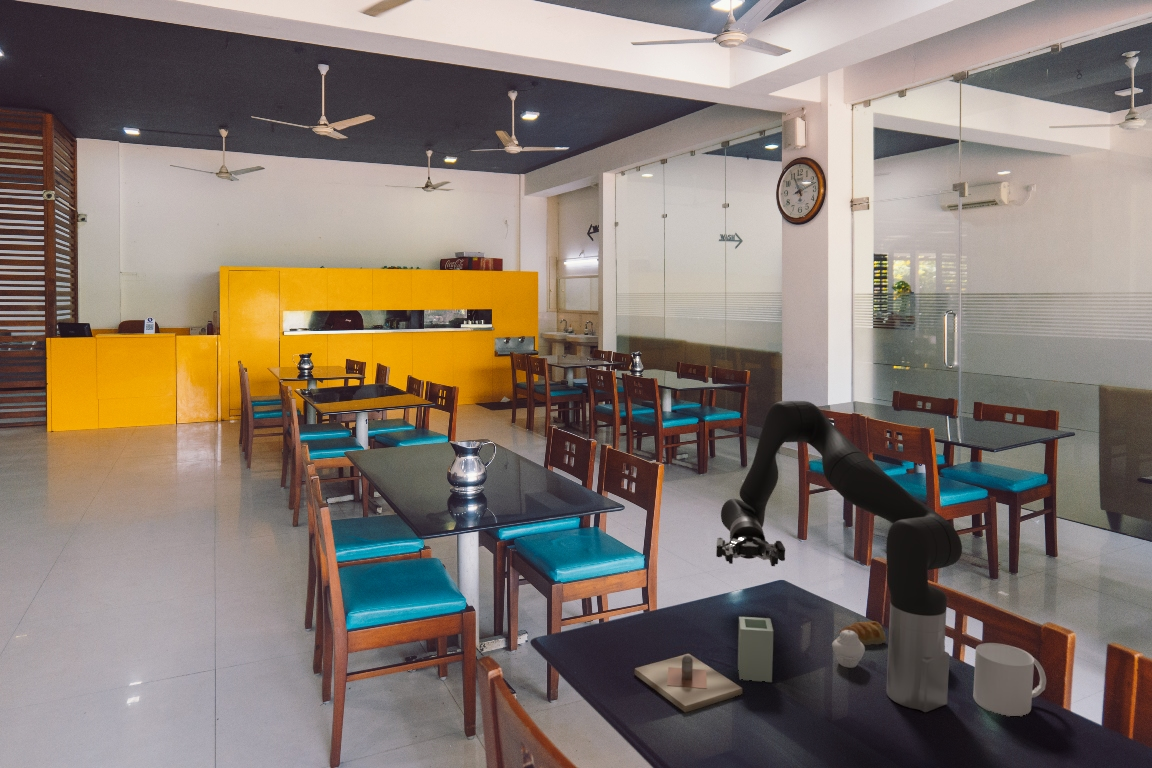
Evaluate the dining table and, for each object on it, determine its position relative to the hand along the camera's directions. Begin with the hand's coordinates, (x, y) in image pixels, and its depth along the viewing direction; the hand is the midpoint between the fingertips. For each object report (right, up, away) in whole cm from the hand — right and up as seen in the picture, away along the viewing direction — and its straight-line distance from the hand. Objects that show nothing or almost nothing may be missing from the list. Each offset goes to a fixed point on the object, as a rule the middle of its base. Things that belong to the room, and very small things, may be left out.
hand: (752, 560), depth 156 cm
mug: (+41, -21, -21) cm, 51 cm away
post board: (-15, -20, -13) cm, 29 cm away
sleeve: (-2, -20, -9) cm, 22 cm away
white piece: (+18, -20, -5) cm, 27 cm away
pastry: (+25, -19, +6) cm, 32 cm away
